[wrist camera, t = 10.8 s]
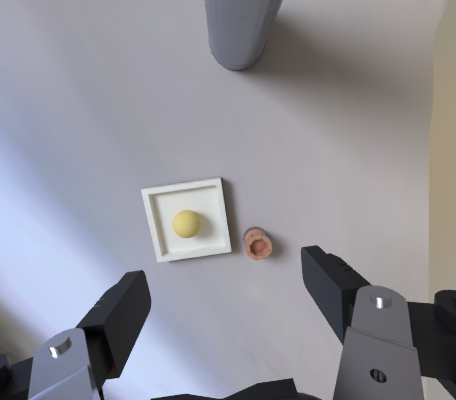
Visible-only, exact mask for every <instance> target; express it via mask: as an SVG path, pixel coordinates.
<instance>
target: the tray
mask: <svg viewBox="0 0 456 400" xmlns="http://www.w3.org/2000/svg"><path fill="white" fill-rule="evenodd" d="M141 191H142V196H143V200H144V204H145V209H146V213H147V217H148V222H149V226H150V231H151V235H152V239H153V244H154V248H155V252H156V257H157V261H158V262H165V261H172V260H179V259H186V258H193V257H200V256H206V255H213V254H220V253H227V252H231V244H230V238H229V231H228V224H227V217H226V211H225V204H224V197H223V190H222V184H221V177H217V178H210V179H203V180H196V181H189V182H182V183H175V184H168V185H161V186H154V187H147V188H144V189H142V190H141ZM183 210H192V211H194V212H196V213H197V214H198V215H199V217H200V219H201V229H200V231H199V232H198V234H197V235H195V236H194V237H191V238H182V237H180V236H178V235H177V234H176V233H175V231H174V229H173V219H174V217H175V216H176V215H177V214H178V213H179V212H181V211H183Z"/></svg>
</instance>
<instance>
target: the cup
mask: <svg viewBox="0 0 456 400" xmlns="http://www.w3.org/2000/svg"><path fill="white" fill-rule="evenodd" d="M243 239H244V244H245V248H246V253H247V255H248V256H250V257H251V258H252V259H254V260H262V259H265V258H267V257H268V256H269V254H270V253H271V252H272V243H271V240H270V238H269V237H268V236H267V235H266V233H265V232H264V230H263V229H261V228H259V227H252V228H250V229H248V230H247V231H246V232H245V234H244V238H243Z"/></svg>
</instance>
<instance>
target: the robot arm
mask: <svg viewBox="0 0 456 400" xmlns="http://www.w3.org/2000/svg"><path fill="white" fill-rule="evenodd" d="M282 1H283V0H205V7H206V16H207V26H208V36H209V44H210V49H211V52H212V54H213V56H214V57H215V59H216V60H217V61H218V62H219V63H220V64H221V65H222V66H224V67H226V68H228V69H231V70H243V69H246V68H248V67H250V66H252V65H253V64H254V63H255V62H256V61H257V60H258V59H259V57H260V55H261V53H262V51H263V49H264V46H265V44H266V41H267V39H268V36H269V34H270V31H271V29H272V26H273V24H274V21H275V18H276V16H277V13H278V11H279V8H280V6H281V3H282ZM301 261H302V274H303V280H304V284H305V286H306V288H307V290H308V292H309V293H310V295H311V296H312V298H313V299H314V301H315V303H316V304H317V306H318V307H319V309H320V310H321V312H322V314H323V315H324V317H325V318H326V320H327V321H328V323H329V325H330V326H331V328H332V329H333V331H334V332H335V334H336V335H337V337H338V339H339V340H340V342H341V343H342V345H343V350H342V355H341V360H340V365H339V371H338V376H337V381H336V386H335V391H334V396H333V400H424V394H423V387H422V380H421V376H425V377H431V378H436V379H437V380H438V381H439V382H440V383H441V384H442V385H443V386H444V388H445V389H446V390H447V391H448V392H449V393H450V394H451V395H452V397H454V399H455V400H456V290H442V291H439V292H437V293H436V294H435V299H434V304H430V303H417V302H407V301H406V299H405V298H404V297H403V296H402V295H400V294H399V293H397V292H395V291H394V290H391V289H389V288H386V287H382V286H374V285H371V284H370V283H369V282H368V281H367V280H365V279H364V278H363V277H362V276H361V275H360V274H359V273H357V272H356V271H355V270H353V268H352V267H350V266H349V265H347V263H346V262H345V261H343V260H342V259H341V258H340V257H337V256H335V255H333V254H331V253H329V254H326V253H325V252H324V251H323V250H322V249H321V248H320V247H319V246H317V245H315V246H308V247H302V248H301ZM150 309H151V296H150V292H149V288H148V284H147V280H146V275H145V273H144V271H143V270H140V271H133V272H127V273H126V274H125V275H124V276H123V277H122V278H121V280H120V281H119V282H118V283H117V284H115V285H114V286H113V287H111V288H110V289H108V290H107V291H106V292H105V293H104V294H103V295H102V297H101V298H100V300H99V301H97V303H96V304H95V305H94V307H92V308H91V310H90V311H89V312H88V313H87V314H86V316H85V317H84V318H83V319H82V320H81V321H80V323H79V324H78V325H77V326H76V327H75V328H73V329H69V330H66V331H63V332H61V333H59V334H57V335H55V336H54V337H52V338H51V339H49V340H48V341H47V342H45V343H44V344H43V345H42V346H41V347H40V348H39V349H38V350H37V352H36V353H35V355H34V357H32V358H29V359H26V360H24V361H21V362H18V363H15V364H13V365H10V362H9V360H8V358H7V356H6V355H5V354H0V400H106V398H105V394H104V390H103V387H102V386H103V384H104V382H105V380H107V379H114V378H119V377H120V375H121V373H122V371H123V369H124V366H125V364H126V362H127V360H128V358H129V355H130V353H131V351H132V349H133V347H134V345H135V342H136V340H137V338H138V336H139V334H140V331H141V329H142V327H143V325H144V323H145V321H146V318H147V316H148V314H149V312H150ZM151 400H322V399H319V398H317V397H314V396H312V395H308V394H305V393H299V392H297V390H296V387H295V384H294V381H293V378H290V379H284V380H277V381H270V382H263V383H257V384H255V385H253V386H251V387H248V388H246V389H244V390H242V391H239V392H237V393H235V394H233V395H231V396H228V397H226V398H223V399H216V398H210V397H203V396H197V395H190V394H181V395H174V396H167V397H160V398H153V399H151Z"/></svg>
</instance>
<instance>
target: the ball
mask: <svg viewBox="0 0 456 400" xmlns="http://www.w3.org/2000/svg"><path fill="white" fill-rule="evenodd" d="M173 229H174V231H175V233H176V234H177V235H178V236H180V237H182V238H191V237H194V236H195V235H197V234H198V232H199V231H200V229H201V219H200V217H199V215H198V214H197V213H196V212H194V211H192V210H183V211H181V212H179V213H178V214H177V215H176V216H175V217H174V219H173Z"/></svg>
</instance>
